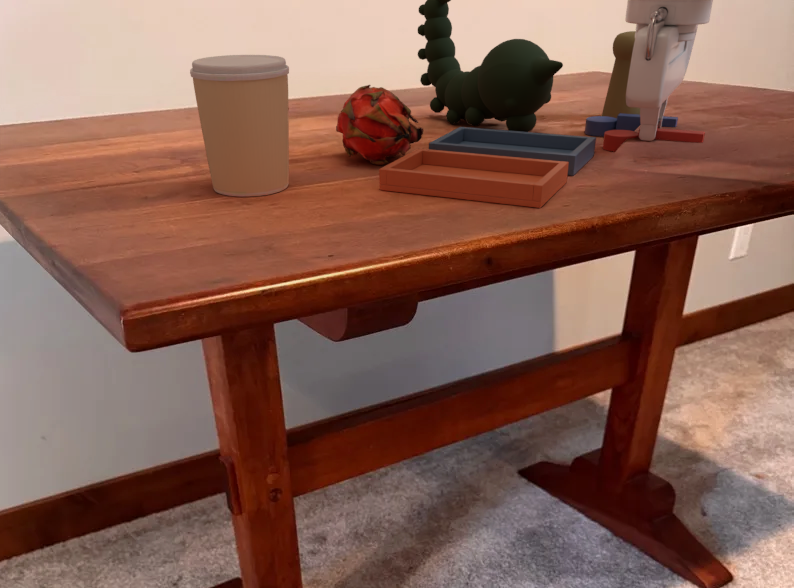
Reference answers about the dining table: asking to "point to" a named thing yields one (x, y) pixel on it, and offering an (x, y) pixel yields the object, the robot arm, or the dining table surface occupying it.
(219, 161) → the coffee cup
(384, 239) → the dining table surface
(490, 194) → the red tray
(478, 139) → the blue tray
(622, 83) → the olive knobbed cone
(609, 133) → the red spoon
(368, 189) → the dining table surface
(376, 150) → the dragon fruit
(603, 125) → the blue spoon
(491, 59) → the toy figurine
